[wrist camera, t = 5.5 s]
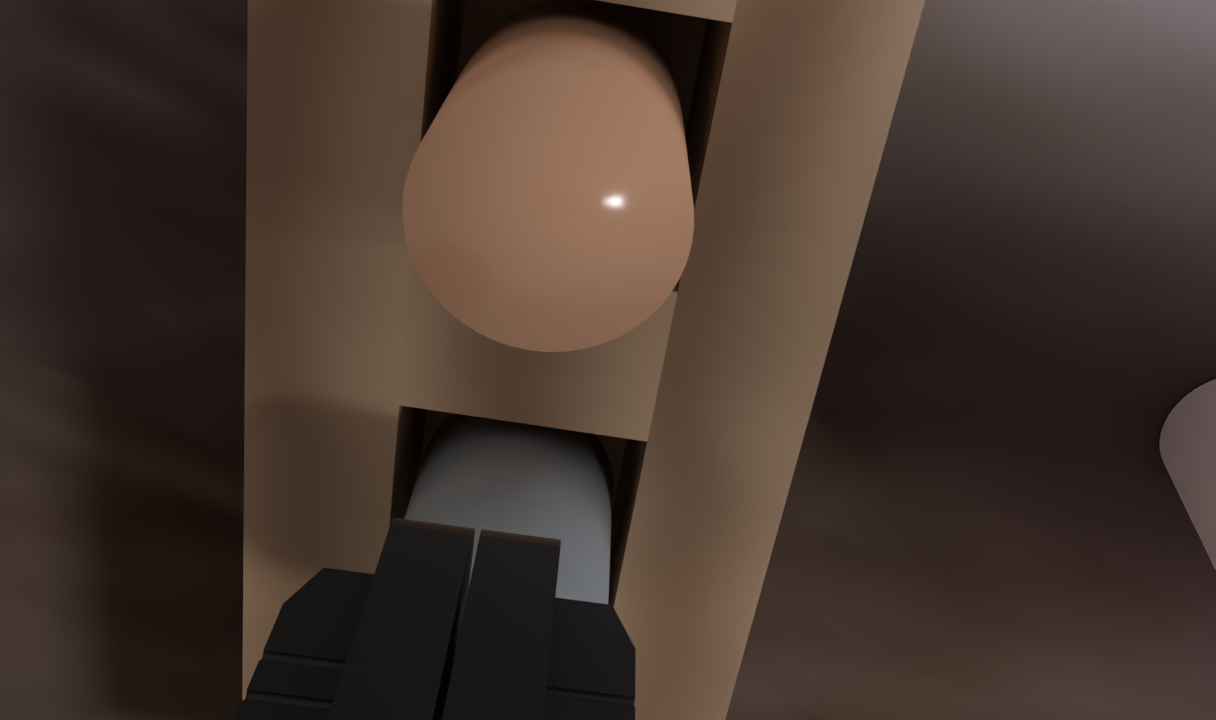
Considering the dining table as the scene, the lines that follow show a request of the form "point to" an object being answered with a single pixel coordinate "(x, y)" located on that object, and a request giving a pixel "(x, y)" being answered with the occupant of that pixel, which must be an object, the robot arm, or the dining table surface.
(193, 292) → the dining table surface
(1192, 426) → the smoothie
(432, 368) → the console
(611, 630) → the robot arm
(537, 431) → the grey rounded cylinder
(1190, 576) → the dining table surface
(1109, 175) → the dining table surface
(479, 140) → the brown egg
